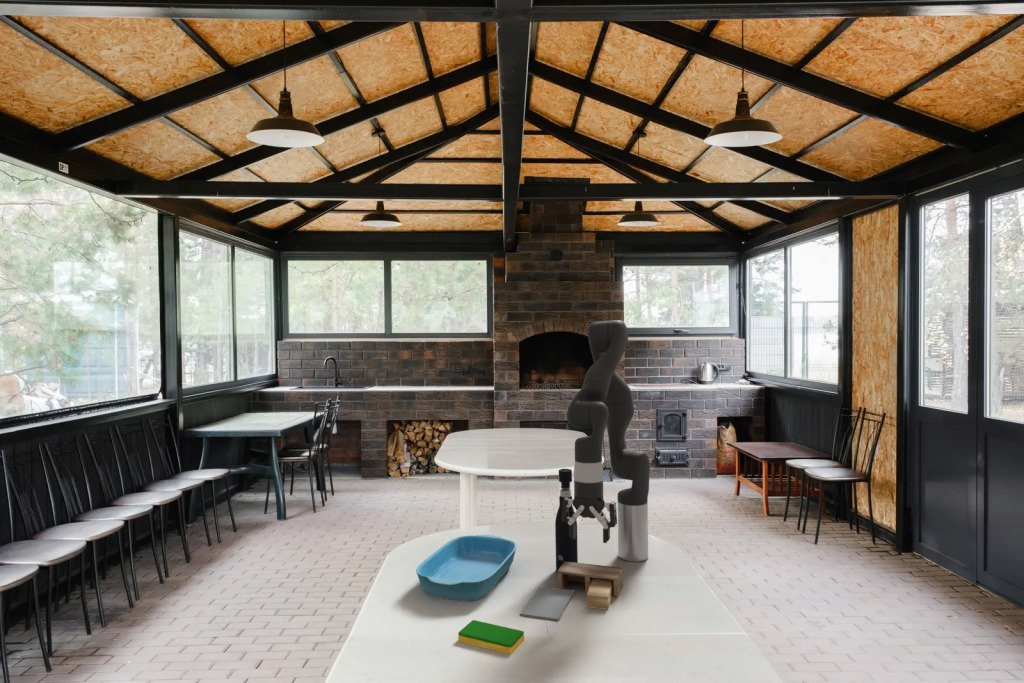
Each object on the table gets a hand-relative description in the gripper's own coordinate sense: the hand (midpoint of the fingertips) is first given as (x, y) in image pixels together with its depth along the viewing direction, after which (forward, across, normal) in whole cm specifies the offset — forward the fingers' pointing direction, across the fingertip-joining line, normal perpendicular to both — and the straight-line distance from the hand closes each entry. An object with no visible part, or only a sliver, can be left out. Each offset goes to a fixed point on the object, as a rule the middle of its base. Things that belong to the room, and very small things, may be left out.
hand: (589, 540), depth 161 cm
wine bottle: (+17, +12, -19) cm, 28 cm away
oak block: (+17, -2, -6) cm, 18 cm away
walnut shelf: (+16, +3, -10) cm, 19 cm away
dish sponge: (+18, +17, +25) cm, 35 cm away
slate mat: (+17, +10, +3) cm, 20 cm away
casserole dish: (+17, +37, -4) cm, 41 cm away
